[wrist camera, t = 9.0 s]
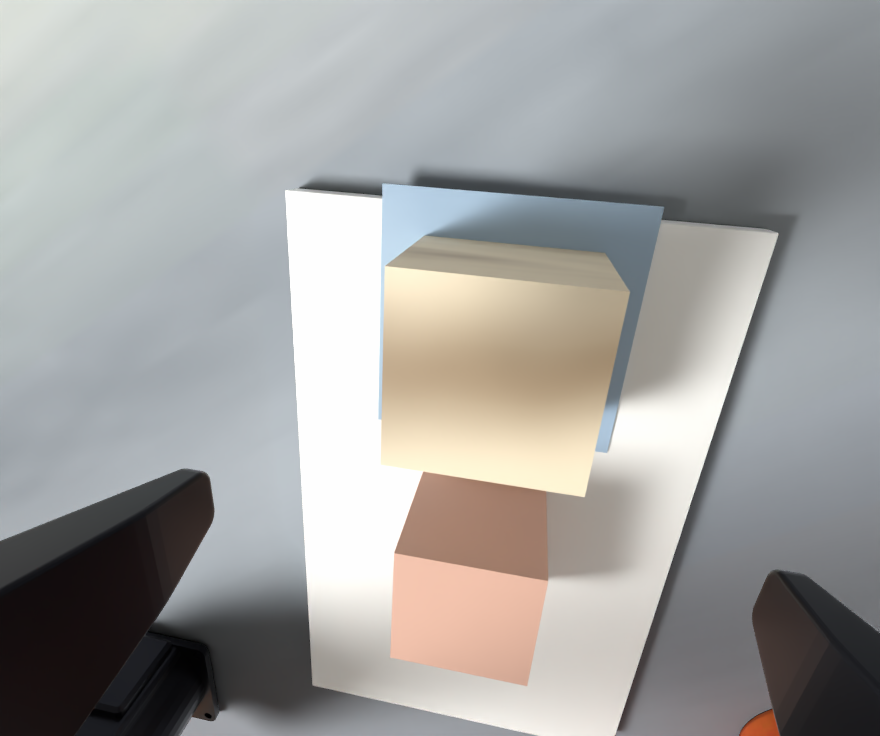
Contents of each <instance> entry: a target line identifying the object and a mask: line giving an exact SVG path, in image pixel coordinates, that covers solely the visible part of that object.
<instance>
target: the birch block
mask: <svg viewBox="0 0 880 736" xmlns="http://www.w3.org/2000/svg"><path fill="white" fill-rule="evenodd" d="M629 295H630V291H629V289H628V288H627V286H626V285H625V283H624V282H623V280H622V279H621V277H620V275H619V274H618V272H617V271H616V269H615V268H614V266H613V264H612V263H611V261H610V260H609V258H608V257H607V255H606V254H605V253H601V252H591V251H581V250H570V249H560V248H550V247H539V246H529V245H519V244H508V243H498V242H487V241H477V240H467V239H456V238H446V237H436V236H425V235H424V236H423V237H422V238H420V239H419V240H418V241H417V242H415V243H414V244H413V245H411V246H410V247H409V248H408V249H406V250H405V251H404V252H402V253H401V254H400V255H398V256H397V257H396V258H395V259H393V260H392V261H391V262H389V263H388V264H387V265H385V277H384V323H383V370H382V417H381V464H380V465H385V466H392V467H398V468H404V469H410V470H417V471H423V472H429V473H436V474H442V475H448V476H454V477H461V478H467V479H473V480H480V481H486V482H492V483H498V484H505V485H511V486H517V487H524V488H530V489H536V490H542V491H549V492H555V493H561V494H567V495H574V496H580V497H585V493H586V489H587V484H588V480H589V475H590V471H591V466H592V462H593V457H594V453H595V448H596V444H597V439H598V435H599V430H600V426H601V421H602V417H603V412H604V408H605V403H606V399H607V394H608V390H609V385H610V381H611V376H612V372H613V367H614V362H615V358H616V353H617V349H618V344H619V340H620V335H621V331H622V326H623V322H624V317H625V313H626V308H627V304H628V299H629Z"/></svg>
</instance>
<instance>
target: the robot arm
mask: <svg viewBox="0 0 880 736" xmlns="http://www.w3.org/2000/svg"><path fill="white" fill-rule="evenodd" d="M213 518H214V503H213V496H212V489H211V482H210V477H209V476H208V474H207V473H205V472H203V471H198V470H192V469H180V470H178V471H175V472H173V473H170V474H168V475H165V476H163V477H160V478H158V479H155V480H152V481H150V482H147V483H145V484H142V485H140V486H137V487H135V488H132V489H130V490H127V491H125V492H122V493H120V494H117V495H115V496H112V497H110V498H107V499H105V500H102V501H100V502H97V503H95V504H92V505H90V506H87V507H85V508H82V509H80V510H77V511H75V512H72V513H70V514H67V515H65V516H62V517H60V518H57V519H55V520H52V521H50V522H47V523H45V524H42V525H39V526H37V527H34V528H32V529H29V530H27V531H24V532H22V533H19V534H17V535H14V536H12V537H9V538H7V539H4V540H2V541H0V736H180V735H181V734H182V732H183V730H184V729H185V727H186V725H187V724H188V722H189V720H190V719H191V717H195V718H199V719H203V720H208V721H214V720H215V719H216V717H217V716H218V714H219V707H218V701H217V696H216V690H215V684H214V678H213V672H212V666H211V661H210V655H209V650H208V648H207V647H206V646H205V645H203V644H200V643H196V642H191V641H187V640H182V639H177V638H173V637H168V636H164V635H159V634H154V633H150V632H147V631H148V630H149V628H150V627H151V626H152V624H153V623H154V621H155V620H156V618H157V617H158V615H159V614H160V612H161V611H162V609H163V608H164V606H165V605H166V603H167V602H168V600H169V598H170V597H171V595H172V593H173V592H174V590H175V588H176V586H177V584H178V583H179V581H180V579H181V577H182V576H183V574H184V572H185V570H186V569H187V567H188V565H189V563H190V561H191V560H192V558H193V556H194V554H195V553H196V551H197V549H198V547H199V545H200V544H201V542H202V540H203V538H204V537H205V535H206V533H207V531H208V529H209V528H210V526H211V524H212V521H213ZM752 622H753V628H754V632H755V637H756V641H757V645H758V649H759V653H760V658H761V662H762V666H763V670H764V674H765V679H766V683H767V687H768V691H769V696H770V700H771V704H772V708H773V712H774V717H775V720H776V724H777V728H778V732H779V735H780V736H880V633H879V632H877V631H876V630H875V629H874V628H872V627H871V626H870V625H869V624H867V623H866V622H865V621H863V620H862V619H861V618H860V617H858V616H857V615H856V614H855V613H853V612H852V611H851V610H850V609H848V608H847V607H846V606H844V605H843V604H842V603H841V602H839V601H838V600H837V599H836V598H834V597H833V596H832V595H831V594H829V593H828V592H827V591H825V590H824V589H823V588H822V587H820V586H819V585H818V584H817V583H815V582H814V581H813V580H812V579H810V578H809V577H807V576H806V575H804V574H801V573H796V572H790V571H784V570H773V571H771V572H770V573H769V574H768V576H767V578H766V580H765V582H764V585H763V587H762V589H761V592H760V594H759V596H758V598H757V601H756V603H755V605H754V608H753V613H752Z"/></svg>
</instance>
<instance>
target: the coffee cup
mask: <svg viewBox="0 0 880 736" xmlns="http://www.w3.org/2000/svg"><path fill="white" fill-rule="evenodd" d="M739 736H780V735H779V732H778V728H777V724H776V720H775V717H774V712H773V709H771V710H768V711H766V712H763V713H761V714H759V715H757V716H756V717H754V718H753V719H751V720H750V721H749V722H748V723H747V724H746V725H745V726H744V727H743V729H742V730H741V732H740V734H739Z"/></svg>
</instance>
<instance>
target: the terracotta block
mask: <svg viewBox="0 0 880 736" xmlns="http://www.w3.org/2000/svg"><path fill="white" fill-rule="evenodd" d="M547 585H548V546H547V504H546V491H542V490H536V489H530V488H524V487H517V486H511V485H505V484H498V483H492V482H486V481H480V480H473V479H467V478H461V477H454V476H448V475H442V474H436V473H429V472H423V473H422V476H421V479H420V481H419V484H418V487H417V490H416V493H415V496H414V498H413V501H412V504H411V507H410V510H409V512H408V515H407V518H406V521H405V524H404V526H403V529H402V532H401V535H400V538H399V541H398V543H397V546H396V549H395V552H394V567H393V594H392V622H391V649H390V658H395V659H400V660H405V661H409V662H414V663H419V664H424V665H428V666H433V667H438V668H443V669H448V670H452V671H457V672H462V673H467V674H471V675H476V676H481V677H486V678H490V679H495V680H500V681H505V682H509V683H514V684H519V685H524V686H527V684H528V679H529V674H530V670H531V665H532V660H533V655H534V650H535V645H536V640H537V635H538V630H539V625H540V620H541V615H542V610H543V605H544V600H545V595H546V590H547Z"/></svg>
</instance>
